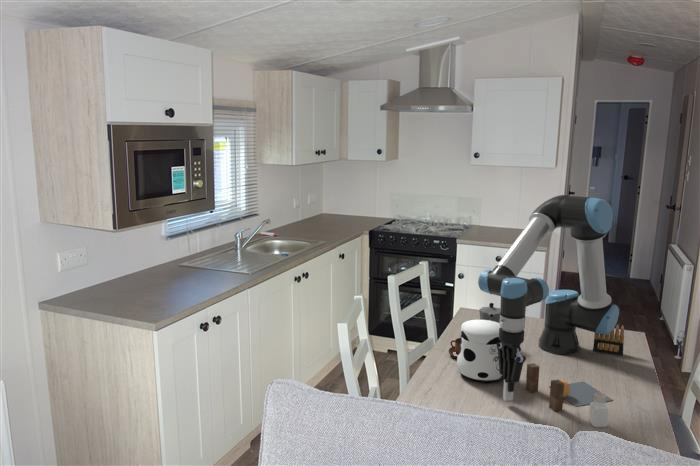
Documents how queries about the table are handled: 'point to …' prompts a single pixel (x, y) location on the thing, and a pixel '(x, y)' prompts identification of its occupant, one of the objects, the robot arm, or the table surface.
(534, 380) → the post
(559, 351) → the robot arm
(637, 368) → the table surface
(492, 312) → the coffeepot
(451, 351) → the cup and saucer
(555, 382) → the post
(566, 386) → the ball
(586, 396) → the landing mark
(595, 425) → the pepper shaker
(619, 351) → the ammunition clip
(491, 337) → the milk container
